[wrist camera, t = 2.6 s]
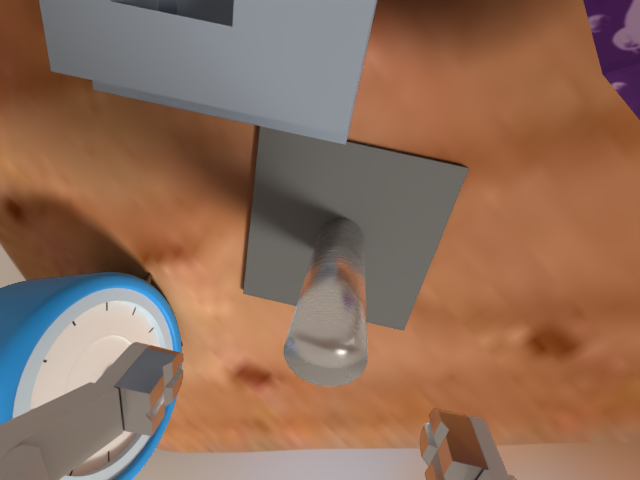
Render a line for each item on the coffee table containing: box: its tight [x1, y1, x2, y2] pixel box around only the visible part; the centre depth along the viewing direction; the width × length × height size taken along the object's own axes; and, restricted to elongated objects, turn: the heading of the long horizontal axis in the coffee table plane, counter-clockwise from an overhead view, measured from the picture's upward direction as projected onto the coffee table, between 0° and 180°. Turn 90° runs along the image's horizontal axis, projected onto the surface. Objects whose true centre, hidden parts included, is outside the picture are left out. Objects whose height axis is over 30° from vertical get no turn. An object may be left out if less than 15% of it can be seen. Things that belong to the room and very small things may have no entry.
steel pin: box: [284, 218, 367, 386], centre depth 16 cm, size 3×3×10 cm
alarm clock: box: [0, 272, 183, 480], centre depth 19 cm, size 13×6×15 cm, turn 10°
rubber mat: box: [243, 126, 469, 331], centre depth 20 cm, size 12×12×1 cm
